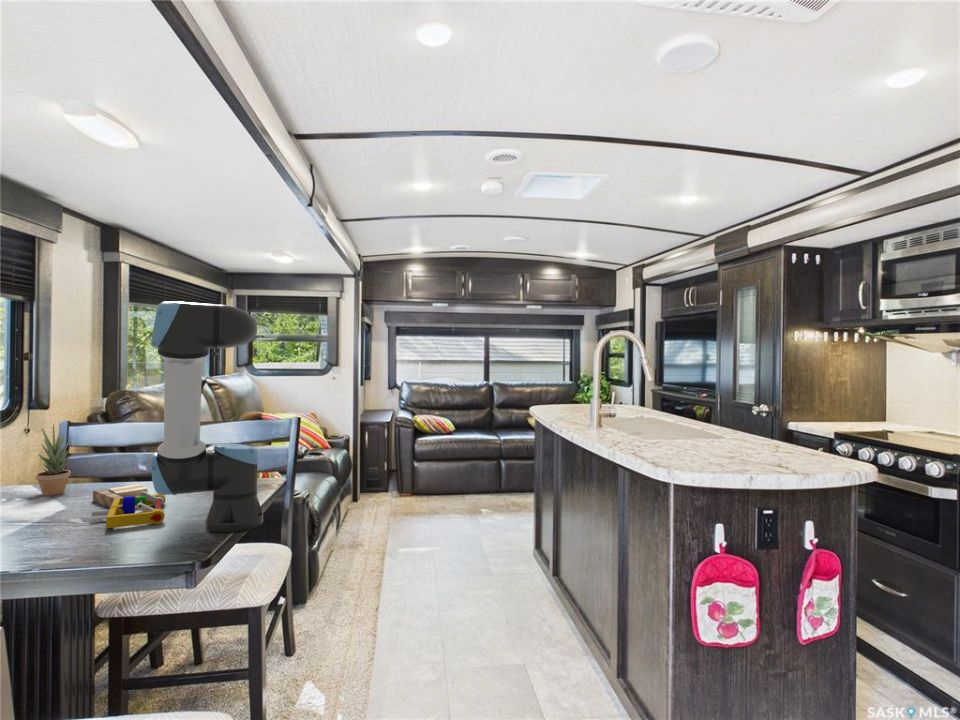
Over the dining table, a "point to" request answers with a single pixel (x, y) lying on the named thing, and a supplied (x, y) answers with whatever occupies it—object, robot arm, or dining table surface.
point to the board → (104, 497)
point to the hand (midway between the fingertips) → (185, 429)
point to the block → (128, 490)
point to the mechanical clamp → (134, 510)
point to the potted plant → (53, 467)
